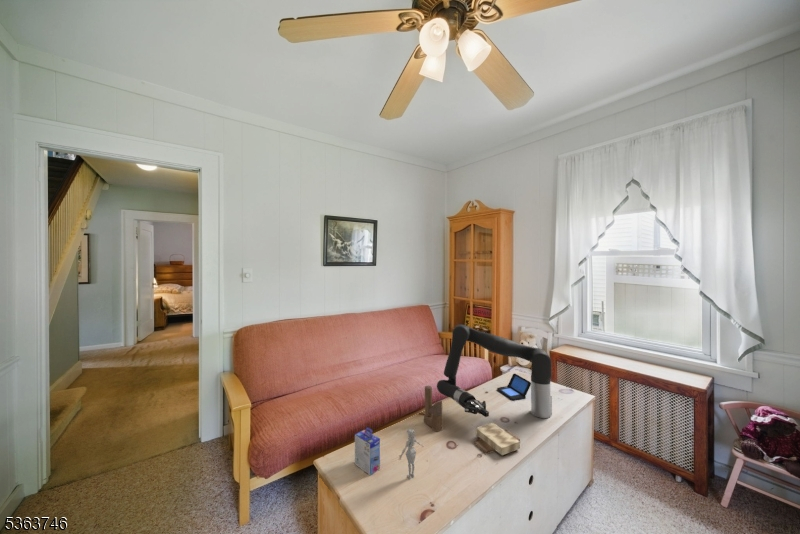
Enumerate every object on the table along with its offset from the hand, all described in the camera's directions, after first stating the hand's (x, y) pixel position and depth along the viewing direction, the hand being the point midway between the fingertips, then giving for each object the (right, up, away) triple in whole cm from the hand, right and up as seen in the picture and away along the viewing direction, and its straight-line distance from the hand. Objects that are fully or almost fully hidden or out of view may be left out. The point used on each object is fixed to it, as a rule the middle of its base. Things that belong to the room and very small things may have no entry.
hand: (487, 414), depth 133 cm
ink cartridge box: (-53, -12, -18) cm, 57 cm away
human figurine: (-36, -11, -24) cm, 45 cm away
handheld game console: (+28, -9, +42) cm, 52 cm away
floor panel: (+3, -10, -4) cm, 11 cm away
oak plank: (-1, -7, +2) cm, 8 cm away
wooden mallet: (-24, -11, +10) cm, 28 cm away
